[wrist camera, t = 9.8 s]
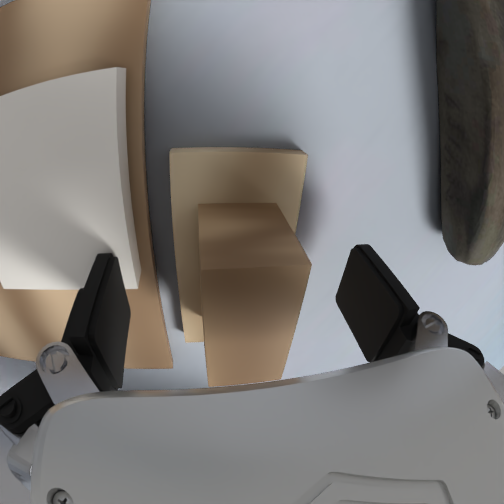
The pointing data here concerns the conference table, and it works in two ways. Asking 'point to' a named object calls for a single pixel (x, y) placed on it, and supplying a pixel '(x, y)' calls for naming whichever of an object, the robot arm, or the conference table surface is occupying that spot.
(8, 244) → the tile
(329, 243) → the conference table surface
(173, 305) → the conference table surface
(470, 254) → the decorative stone
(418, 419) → the robot arm
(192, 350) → the conference table surface
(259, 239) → the wooden float
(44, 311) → the cork mat
